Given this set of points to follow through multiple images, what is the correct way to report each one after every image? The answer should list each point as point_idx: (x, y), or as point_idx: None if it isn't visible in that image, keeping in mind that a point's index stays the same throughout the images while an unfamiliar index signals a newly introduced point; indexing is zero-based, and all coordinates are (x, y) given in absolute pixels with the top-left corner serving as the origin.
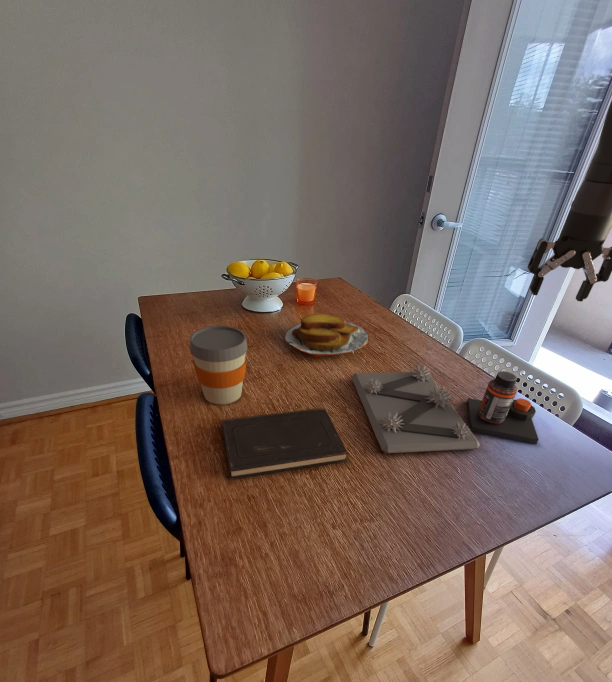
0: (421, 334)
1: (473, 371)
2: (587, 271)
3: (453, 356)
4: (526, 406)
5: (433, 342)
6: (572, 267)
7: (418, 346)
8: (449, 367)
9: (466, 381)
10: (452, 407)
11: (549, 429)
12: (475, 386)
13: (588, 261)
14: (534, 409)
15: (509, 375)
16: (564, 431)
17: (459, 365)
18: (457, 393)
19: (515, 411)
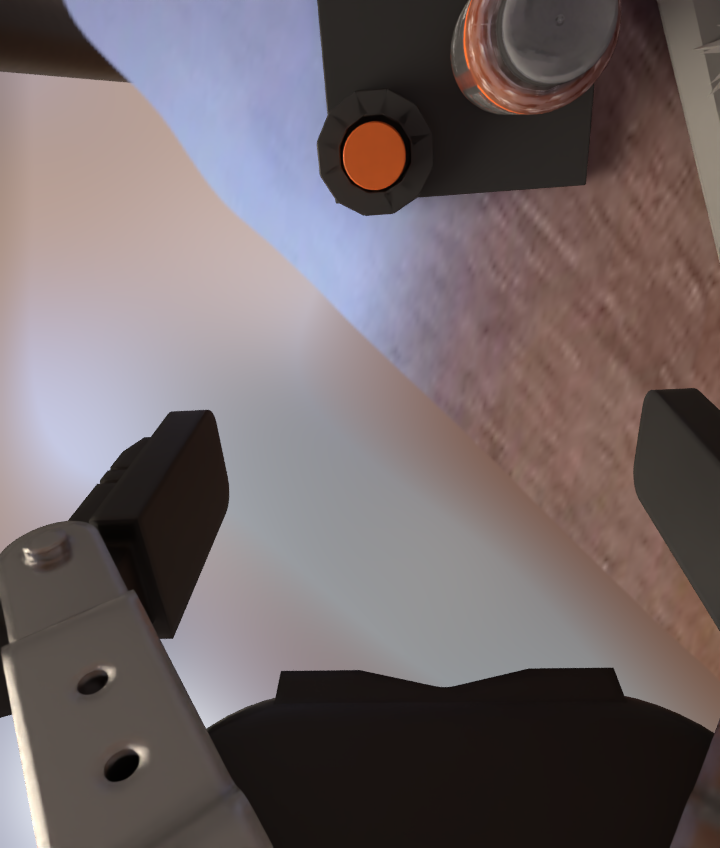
0: (684, 644)
1: (513, 445)
2: (138, 618)
3: (578, 528)
4: (365, 123)
5: (644, 602)
6: (419, 685)
7: None
8: (608, 441)
9: (552, 358)
10: (697, 18)
11: (254, 110)
12: (520, 332)
13: (124, 812)
14: (322, 157)
15: (546, 28)
16: (199, 121)
17: (564, 470)
18: (607, 245)
19: (406, 99)
